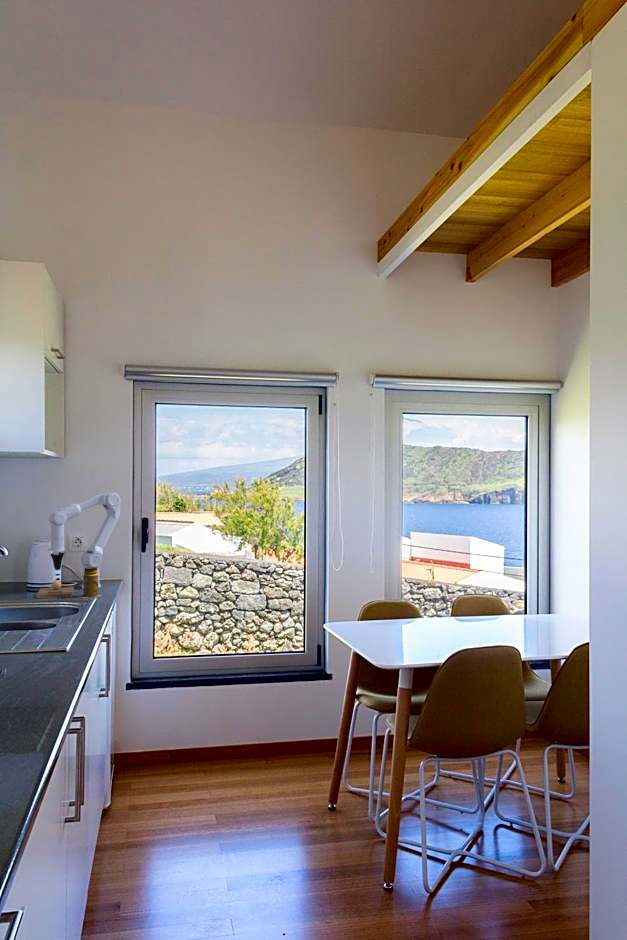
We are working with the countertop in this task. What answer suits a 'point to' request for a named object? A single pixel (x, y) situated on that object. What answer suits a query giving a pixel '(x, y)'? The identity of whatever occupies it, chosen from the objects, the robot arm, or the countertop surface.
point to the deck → (55, 593)
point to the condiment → (90, 583)
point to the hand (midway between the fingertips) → (57, 569)
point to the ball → (56, 584)
